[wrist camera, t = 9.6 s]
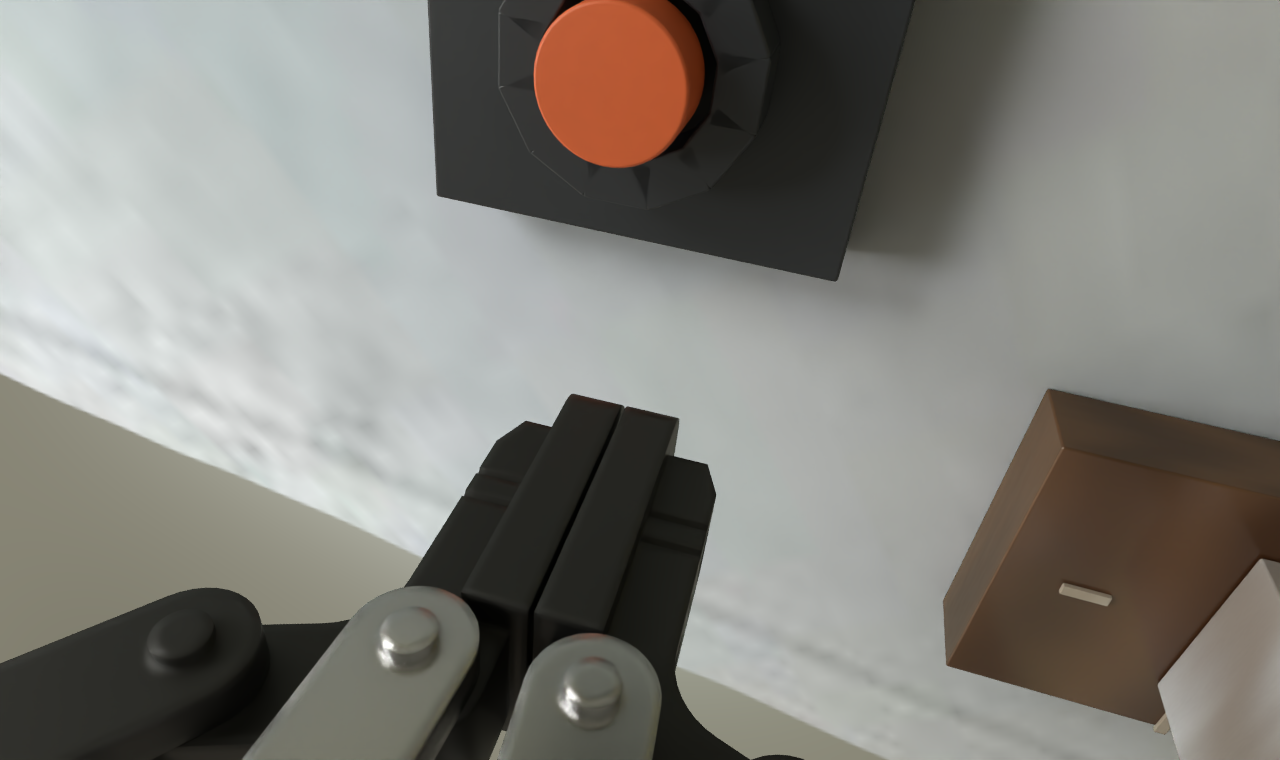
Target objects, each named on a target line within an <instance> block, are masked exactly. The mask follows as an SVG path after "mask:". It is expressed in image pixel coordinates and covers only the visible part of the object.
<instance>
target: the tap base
mask: <svg viewBox="0 0 1280 760" xmlns="http://www.w3.org/2000/svg"><path fill="white" fill-rule="evenodd" d="M1260 559H1266V560H1270V561H1274V562H1278V563H1280V441H1276V440H1272V439H1268V438H1263V437H1259V436H1254V435H1250V434H1246V433H1241V432H1237V431H1232V430H1228V429H1224V428H1219V427H1215V426H1210V425H1206V424H1202V423H1197V422H1193V421H1188V420H1184V419H1180V418H1175V417H1171V416H1166V415H1162V414H1158V413H1153V412H1149V411H1144V410H1140V409H1136V408H1131V407H1127V406H1122V405H1118V404H1114V403H1109V402H1105V401H1100V400H1096V399H1092V398H1087V397H1083V396H1078V395H1074V394H1070V393H1065V392H1061V391H1056V390H1052V389H1048V390H1047V391H1046V393H1045V395H1044V397H1043V399H1042V401H1041V403H1040V405H1039V407H1038V409H1037V411H1036V413H1035V416H1034V418H1033V420H1032V422H1031V424H1030V426H1029V428H1028V430H1027V432H1026V434H1025V436H1024V438H1023V440H1022V442H1021V444H1020V446H1019V448H1018V450H1017V452H1016V454H1015V456H1014V458H1013V460H1012V462H1011V464H1010V466H1009V468H1008V470H1007V472H1006V474H1005V476H1004V478H1003V480H1002V483H1001V485H1000V487H999V489H998V491H997V493H996V495H995V497H994V499H993V501H992V503H991V505H990V507H989V509H988V511H987V513H986V515H985V517H984V519H983V521H982V523H981V525H980V527H979V529H978V531H977V533H976V535H975V537H974V539H973V541H972V543H971V545H970V547H969V550H968V552H967V554H966V556H965V558H964V560H963V562H962V564H961V566H960V568H959V570H958V572H957V574H956V576H955V578H954V580H953V582H952V584H951V586H950V588H949V590H948V592H947V594H946V596H945V598H944V600H943V608H944V629H945V649H946V665H947V666H950V667H953V668H957V669H960V670H964V671H967V672H971V673H974V674H978V675H981V676H985V677H988V678H992V679H995V680H999V681H1002V682H1006V683H1009V684H1013V685H1016V686H1020V687H1023V688H1027V689H1030V690H1034V691H1037V692H1041V693H1044V694H1048V695H1051V696H1055V697H1058V698H1062V699H1065V700H1069V701H1072V702H1076V703H1079V704H1083V705H1086V706H1090V707H1093V708H1097V709H1100V710H1104V711H1107V712H1111V713H1114V714H1118V715H1121V716H1125V717H1128V718H1132V719H1136V720H1139V721H1143V722H1146V723H1150V724H1153V725H1155V726H1154V727H1153V730H1154V732H1157V733H1161V734H1164V735H1165V734H1166V733H1167V732H1168V731H1169V730H1170V725H1169V722H1168V719H1167V715H1166V712H1165V709H1164V705H1163V702H1162V698H1161V695H1160V692H1159V688H1158V683H1159V682H1160V681H1161V680H1162V678H1163V677H1164V676H1165V675H1166V673H1167V672H1168V671H1169V670H1170V669H1171V667H1172V666H1173V665H1174V664H1175V662H1176V661H1177V660H1178V659H1179V658H1180V656H1181V655H1182V654H1183V653H1184V651H1185V650H1186V649H1187V648H1188V647H1189V645H1190V644H1191V643H1192V642H1193V640H1194V639H1195V638H1196V637H1197V636H1198V634H1199V633H1200V632H1201V631H1202V629H1203V628H1204V627H1205V626H1206V624H1207V623H1208V622H1209V621H1210V620H1211V618H1212V617H1213V616H1214V615H1215V613H1216V612H1217V611H1218V610H1219V609H1220V607H1221V606H1222V605H1223V604H1224V602H1225V601H1226V600H1227V599H1228V598H1229V596H1230V595H1231V594H1232V593H1233V591H1234V590H1235V589H1236V588H1237V587H1238V585H1239V584H1240V583H1241V582H1242V580H1243V579H1244V578H1245V577H1246V576H1247V574H1248V573H1249V572H1250V571H1251V569H1252V568H1253V567H1254V566H1255V565H1256V563H1257V562H1258V561H1259V560H1260Z"/></svg>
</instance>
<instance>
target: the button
mask: <svg viewBox="0 0 1280 760" xmlns="http://www.w3.org/2000/svg"><path fill="white" fill-rule="evenodd" d="M704 80H705V64H704V58H703V52H702V49H701V45H700V42H699V40H698V37H697V35H696V33H695V31H694V29H693V28H692V26H691V24H690V22H689V21H688V20H687V19H686V17H685V16H684V15H683V14H682V13H681V12H680V11H679V10H678V9H677V8H676V7H675V6H674V5H673V4H672V3H670V2H669V1H668V0H584V1H582V2H580V3H578V4H576V5H574V6H573V7H571V8H569V9H567V10H566V11H565V12H563V13H562V14H561V15H560V16H558V17H557V18H556V20H555V21H554V22H553V23H552V24H551V25H550V27H549V28H548V29H547V31H546V32H545V34H544V36H543V38H542V40H541V42H540V45H539V47H538V50H537V54H536V58H535V63H534V88H535V95H536V99H537V103H538V106H539V109H540V111H541V114H542V116H543V118H544V120H545V122H546V124H547V126H548V127H549V129H550V130H551V132H552V133H553V134H554V136H555V137H556V138H557V139H558V140H559V141H560V142H561V143H562V144H563V145H564V146H565V147H566V148H567V149H568V150H570V151H571V152H572V153H574V154H575V155H577V156H578V157H580V158H582V159H584V160H586V161H588V162H591V163H593V164H596V165H600V166H604V167H611V168H627V167H634V166H637V165H641V164H644V163H646V162H648V161H650V160H652V159H654V158H655V157H657V156H659V155H660V154H661V153H662V152H664V151H665V150H666V149H667V148H668V147H669V146H670V145H671V144H672V143H673V141H674V140H675V139H676V138H677V136H678V135H679V134H680V132H681V131H682V130H683V128H684V127H685V126H686V124H687V123H688V122H689V120H690V119H691V117H692V116H693V114H694V113H695V111H696V109H697V107H698V105H699V102H700V99H701V96H702V92H703V88H704Z"/></svg>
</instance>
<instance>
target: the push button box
mask: <svg viewBox="0 0 1280 760" xmlns="http://www.w3.org/2000/svg"><path fill="white" fill-rule="evenodd" d="M582 1H584V0H428V16H429V38H430V59H431V81H432V102H433V123H434V145H435V166H436V188H437V196H440V197H445V198H449V199H454V200H458V201H463V202H468V203H472V204H477V205H482V206H486V207H491V208H495V209H500V210H505V211H509V212H514V213H519V214H523V215H528V216H533V217H537V218H542V219H546V220H551V221H556V222H560V223H565V224H570V225H574V226H579V227H584V228H588V229H593V230H597V231H602V232H607V233H611V234H616V235H621V236H625V237H630V238H635V239H639V240H644V241H648V242H653V243H658V244H662V245H667V246H672V247H676V248H681V249H685V250H690V251H695V252H699V253H704V254H709V255H713V256H718V257H723V258H727V259H732V260H736V261H741V262H746V263H750V264H755V265H760V266H764V267H769V268H774V269H778V270H783V271H787V272H792V273H797V274H801V275H806V276H811V277H815V278H820V279H825V280H829V281H834V282H835V281H837V280H838V277H839V274H840V270H841V267H842V263H843V259H844V256H845V252H846V248H847V245H848V241H849V238H850V234H851V230H852V227H853V223H854V220H855V216H856V212H857V209H858V205H859V202H860V198H861V194H862V191H863V187H864V184H865V180H866V176H867V173H868V169H869V166H870V162H871V158H872V155H873V151H874V148H875V144H876V140H877V137H878V133H879V130H880V126H881V122H882V119H883V115H884V111H885V108H886V104H887V101H888V97H889V93H890V90H891V86H892V83H893V79H894V75H895V72H896V68H897V65H898V61H899V57H900V54H901V50H902V47H903V43H904V39H905V36H906V32H907V29H908V25H909V21H910V18H911V14H912V11H913V7H914V3H915V0H668V1H669V2H670V3H672V4H673V5H674V6H675V7H676V8H677V9H678V10H679V11H680V12H681V13H682V14H683V15H684V16H685V17H686V19H687V20H688V21H689V22H690V24H691V26H692V28H693V29H694V31H695V33H696V35H697V37H698V40H699V42H700V45H701V49H702V52H703V58H704V64H705V80H704V88H703V92H702V96H701V99H700V102H699V105H698V107H697V109H696V111H695V113H694V114H693V116H692V117H691V119H690V120H689V122H688V123H687V124H686V126H685V127H684V128H683V130H682V131H681V132H680V134H679V135H678V136H677V138H676V139H675V140H674V141H673V143H672V144H671V145H670V146H669V147H668V148H667V149H666V150H665V151H664V152H662V153H661V154H660V155H659V156H657V157H655V158H654V159H652V160H650V161H648V162H646V163H644V164H641V165H637V166H634V167H627V168H611V167H604V166H600V165H596V164H593V163H591V162H588V161H586V160H584V159H582V158H580V157H578V156H577V155H575V154H574V153H572V152H571V151H570V150H568V149H567V148H566V147H565V146H564V145H563V144H562V143H561V142H560V141H559V140H558V139H557V138H556V137H555V136H554V134H553V133H552V132H551V130H550V129H549V127H548V126H547V124H546V122H545V120H544V118H543V116H542V114H541V111H540V109H539V106H538V103H537V99H536V95H535V88H534V63H535V58H536V54H537V50H538V47H539V45H540V42H541V40H542V38H543V36H544V34H545V32H546V31H547V29H548V28H549V27H550V25H551V24H552V23H553V22H554V21H555V20H556V18H557V17H558V16H560V15H561V14H562V13H563V12H565V11H566V10H567V9H569V8H571V7H573V6H574V5H576V4H578V3H580V2H582Z"/></svg>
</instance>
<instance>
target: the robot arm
mask: <svg viewBox="0 0 1280 760" xmlns="http://www.w3.org/2000/svg"><path fill="white" fill-rule="evenodd" d="M678 428H679V418H675V417H671V416H667V415H662V414H658V413H654V412H650V411H645V410H641V409H637V408H633V407H628V406H627V407H626V408H624V406H623V405H619V404H615V403H610V402H606V401H602V400H597V399H593V398H589V397H585V396H580V395H576V394H571V395H570V396H569V397H568V399H567V400H566V402H565V404H564V406H563V408H562V409H561V411H560V413H559V415H558V417H557V418H556V420H555V422H554V424H553V426H552V427H549V426H545V425H541V424H537V423H533V422H529V421H525V422H523V423H522V424H521V425H519V426H518V427H516V428H515V429H513V430H512V431H510V432H509V433H507V434H506V435H504V436H503V437H502V438H500V439H499V440H497V441H496V443H495V444H494V446H493V447H492V449H491V451H490V452H489V454H488V455H487V457H486V459H485V460H484V462H483V463H482V465H481V467H480V470H479V473H476V475H475V476H474V478H473V479H472V481H471V483H470V484H469V486H468V487H467V489H466V492H465V495H464V496H462V497H461V498H460V500H459V502H458V503H457V505H456V506H455V508H454V510H453V511H452V513H451V514H450V516H449V518H448V519H447V521H446V522H445V524H444V526H443V527H442V529H441V530H440V532H439V533H438V535H437V537H436V538H435V540H434V541H433V543H432V545H431V546H430V548H429V549H428V551H427V553H426V554H425V556H424V557H423V559H422V561H421V562H420V564H419V565H418V567H417V568H416V570H415V572H414V573H413V575H412V576H411V578H410V580H409V581H408V582H407V584H406V585H405V587H404V588H399V589H395V590H392V591H389V592H387V593H385V594H382V595H380V596H378V597H376V598H375V599H373V600H371V601H370V602H368V603H367V604H366V605H364V606H363V607H362V608H361V609H360V610H358V612H357V613H356V614H355V615H354V616H353V617H352V618H351V619H350V620H345V621H340V622H334V623H322V624H321V623H320V624H279V625H278V624H277V625H276V624H274V625H262V623H261V620H260V616H259V613H258V611H257V610H256V608H255V606H254V605H253V604H252V603H251V602H250V601H249V600H248V599H247V598H245V597H243V596H242V595H240V594H238V593H235V592H233V591H230V590H225V589H219V588H200V589H192V590H187V591H183V592H179V593H176V594H173V595H170V596H167V597H164V598H162V599H159V600H157V601H154V602H152V603H149V604H147V605H145V606H142V607H140V608H137V609H135V610H132V611H130V612H127V613H125V614H122V615H120V616H117V617H115V618H112V619H110V620H107V621H105V622H103V623H100V624H98V625H95V626H93V627H90V628H87V629H85V630H82V631H80V632H77V633H75V634H72V635H70V636H67V637H65V638H63V639H60V640H58V641H55V642H53V643H50V644H48V645H45V646H43V647H40V648H38V649H35V650H33V651H30V652H28V653H25V654H23V655H20V656H18V657H15V658H13V659H10V660H8V661H5V662H3V663H0V760H489V759H490V756H491V754H492V751H493V749H494V747H495V744H496V742H497V740H498V737H499V735H500V732H501V730H504V731H507V732H506V735H505V738H504V741H503V744H502V747H501V750H500V753H499V756H498V759H497V760H750V759H748V758H747V757H745V756H744V755H742V754H741V753H739V752H738V751H736V750H735V749H733V748H732V747H730V746H729V745H727V744H726V743H724V742H723V741H721V740H720V739H718V738H717V737H715V736H714V735H713V734H712V733H710V732H709V731H707V730H706V729H705V728H704V727H703V726H702V725H701V724H700V723H699V722H698V721H697V720H696V719H695V718H694V716H693V715H692V713H691V712H690V711H689V709H688V708H687V706H686V704H685V703H684V701H683V699H682V697H681V694H680V692H679V689H678V686H677V681H676V676H675V670H676V666H677V662H678V658H679V654H680V650H681V646H682V642H683V638H684V633H685V629H686V626H687V622H688V617H689V613H690V609H691V605H692V601H693V597H694V593H695V589H696V585H697V581H698V577H699V573H700V569H701V564H702V559H703V555H704V550H705V545H706V541H707V536H708V531H709V527H710V522H711V517H712V513H713V508H714V503H715V499H716V492H715V488H714V485H713V482H712V478H711V475H710V471H709V468H708V465H707V464H704V463H699V462H695V461H691V460H687V459H683V458H679V457H675V456H674V453H675V447H676V440H677V434H678ZM753 760H804V759H801V758H797V757H792V756H788V755H768V756H762V757H759V758H755V759H753Z"/></svg>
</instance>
